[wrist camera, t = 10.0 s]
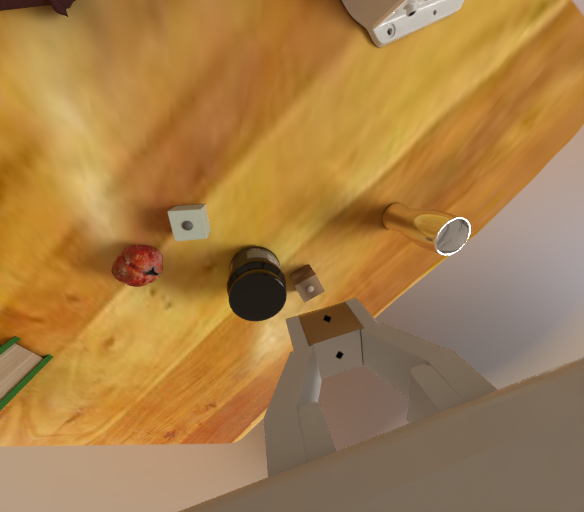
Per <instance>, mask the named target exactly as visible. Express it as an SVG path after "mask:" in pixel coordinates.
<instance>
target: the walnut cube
mask: <svg viewBox="0 0 584 512" xmlns="http://www.w3.org/2000/svg"><path fill="white" fill-rule="evenodd" d="M290 276H291V279H292V281H293V284H294V286H295V288H296V289H297V291H298V293H299V294H300V296H301V298H302V299H303V301H304V303H305V302H306V301H308V300H310V299H312V298H314V297H315V296H317V295H319V294H321V293H323V292H324V289H323V287H322V286H321V284H320V282H319V280H318V278H317V276H316V274H315V273H314V271H313V270H312V268H311V267H310V265H309V264H308V265H307V266H305V267H303V268H301V269H299V270H298V271H296V272H294V273H292V274H290Z"/></svg>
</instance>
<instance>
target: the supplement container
mask: <svg viewBox="0 0 584 512" xmlns="http://www.w3.org/2000/svg"><path fill="white" fill-rule="evenodd" d="M227 293H228V296H229V304H230V307H231V309H232V310H233V312H234V313H235V314H236V315H237V316H239V317H241V318H242V319H245V320H249V321H262V320H266V319H269V318H271V317H273V316H275V315H276V314H277V313H278V312H279V311H280V310H281V309H282V308H283V306H284V304H285V302H286V296H287V294H286V280H285V277H284V274H283V272H282V270H281V267H280V264H279V261H278V259H277V257H276V255H275V254H274V253H273V252H272V251H270V250H269V249H267V248H264V247H260V246H251V247H247V248H244V249H242V250H241V251H239V252H238V253H237V254H236V255H235V256H234V257H233V259H232V261H231V264H230V272H229V279H228V282H227Z"/></svg>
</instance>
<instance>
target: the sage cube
mask: <svg viewBox="0 0 584 512" xmlns="http://www.w3.org/2000/svg"><path fill="white" fill-rule="evenodd" d="M167 212H168V216H169V220H170V223H171V227H172V231H173V235H174V239H175V241H184V240H196V239H207V237H208V235H209V233H210V225H209V220H208V214H207V209H206V204H199V205H181V206H175V207H174V208H172V209H170V210H169V211H167Z"/></svg>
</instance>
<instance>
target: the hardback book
mask: <svg viewBox="0 0 584 512" xmlns="http://www.w3.org/2000/svg"><path fill="white" fill-rule="evenodd" d="M19 340H20V338H18V337H16V336H15V337H14V338H12V339H10V340H9V341H7V342H6V343H4V344H3V345H1V346H0V411H1V410H2V409H3V408H4V407H5V406H6V404H7V403H8V402H9V401H10V400H11V399H12V398H13V397H14V396H15V395H16V394H17V393H18V392H19V391H20V390H21V389H22V388H23V387H24V386H25V385H26V384H27V383H28V382H29V381H30V380H31V379H32V378H33V377H34V376H35V375H36V374H37V373H38V372H39V371H40V370H41V369H42V368H43V367H44V366H45V365H46V364H47V363H48V362H49V361H50V360H51V359H52V358H53V356H51V355H47V356H46V357H44V358H41V357H40V356H38V355H36V354H34V353H32V352H30V351H28V350H26V349H25V348H23V347H21V346H19V345H17V344H15V343H16V342H17V341H19Z"/></svg>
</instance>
